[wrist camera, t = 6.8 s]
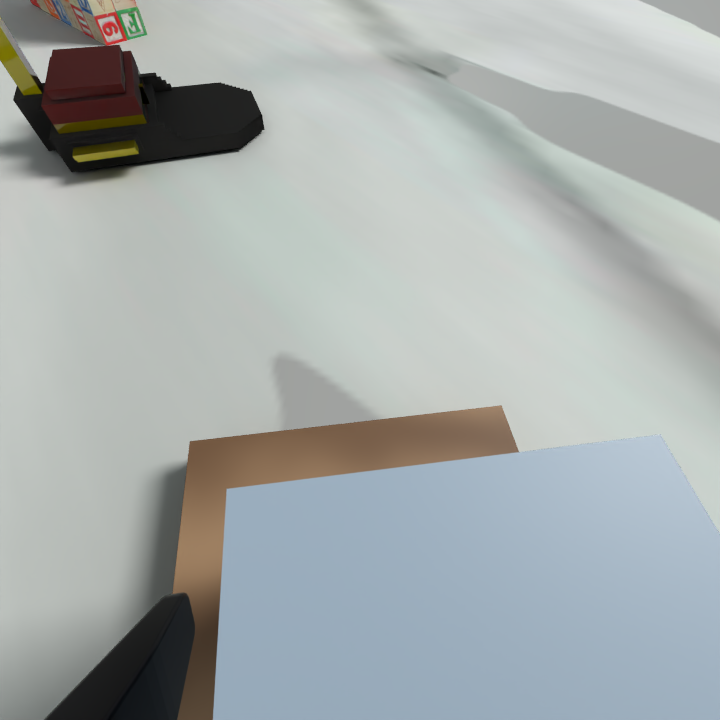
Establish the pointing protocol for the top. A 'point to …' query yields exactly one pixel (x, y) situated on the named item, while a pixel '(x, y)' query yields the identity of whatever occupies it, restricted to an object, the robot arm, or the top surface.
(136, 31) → the stack of blocks
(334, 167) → the top surface
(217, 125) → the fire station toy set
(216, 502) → the base board
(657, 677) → the column block
